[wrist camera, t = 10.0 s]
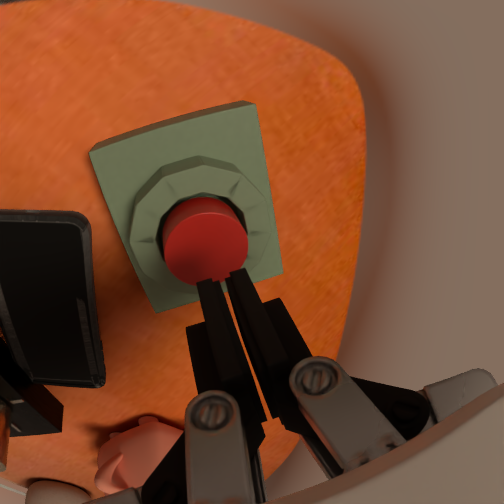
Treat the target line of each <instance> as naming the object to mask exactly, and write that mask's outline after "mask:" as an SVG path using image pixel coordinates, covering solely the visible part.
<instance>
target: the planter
mask: <svg viewBox="0 0 504 504" xmlns="http://www.w3.org/2000/svg"><path fill="white" fill-rule="evenodd" d="M91 500H92V499H91V498H90V496H89V495H88V494H87V493H85V492H84V491H83V490H81V489H79V488H77V487H75V486H72V485H69V484H65V483H60V482H55V481H37V482H35V483H33V484H32V485H31V486H30V487H29V489H28V491H27V494H26V499H25V504H82V503H84V502H88V501H91Z"/></svg>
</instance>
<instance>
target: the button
mask: <svg viewBox="0 0 504 504" xmlns="http://www.w3.org/2000/svg"><path fill="white" fill-rule="evenodd" d="M162 237H163V248H164V257H165V262H166V265H167V267H168V269H169V270H170V272H171V273H172V274H173V275H174V276H175V277H176V278H178V279H179V280H181V281H182V282H184V283H186V284H189V285H193V286H197V285H196V282H199V281H202V280H206V279H209V278H212V280H213V282H214V281H217V280H219V281H220V283H222V282H224V281H225V279H224V278H227V277H230V274H229V272H231V271H235V270H238V269H240V268H241V267H242V265H243V263H244V262H245V259H246V257H247V253H248V238H247V234H246V232H245V230H244V228H243V227H242V225H241V223H240V221H239V220H238V218H237V216H236V214H235V213H234V211H233V210H232V209H231V208H230V207H229V206H228V205H227V204H226V203H224V202H222V201H220V200H218V199H215V198H210V197H197V198H192V199H189V200H187V201H185V202H183V203H181V204H179V205H178V206H177V207H176V208H174V209H173V210H172V211H171V213H170V214H169V215H168V217H167V219H166V221H165V223H164V226H163V235H162Z"/></svg>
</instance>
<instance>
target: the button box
mask: <svg viewBox="0 0 504 504" xmlns="http://www.w3.org/2000/svg"><path fill="white" fill-rule="evenodd" d="M89 156H90V159H91V162H92V165H93V168H94V171H95V173H96V176H97V179H98V182H99V184H100V187H101V190H102V192H103V195H104V198H105V200H106V203H107V206H108V208H109V211H110V213H111V216H112V218H113V221H114V223H115V226H116V228H117V230H118V233H119V235H120V238H121V240H122V242H123V245H124V247H125V249H126V251H127V254H128V256H129V258H130V261H131V263H132V265H133V267H134V269H135V272H136V274H137V276H138V278H139V280H140V282H141V284H142V287H143V289H144V291H145V293H146V295H147V297H148V299H149V301H150V303H151V305H152V307H153V309H154V311H155V313H160V312H163V311H166V310H170V309H173V308H176V307H179V306H183V305H186V304H189V303H192V302H196V301H199V300H200V298H199V294H198V290H197V286H193V285H189V284H186V283H184V282H182V281H181V280H179V279H178V278H176V277H175V276H174V275H173V274H172V273H171V272H170V270H169V269H168V267H167V265H166V262H165V257H164V248H163V237H162V235H163V226H164V223H165V221H166V219H167V217H168V215H169V214H170V213H171V211H172V210H173V209H174V208H176V207H177V206H178V205H179V204H181V203H183V202H185V201H187V200H189V199H192V198H197V197H210V198H215V199H218V200H220V201H222V202H224V203H226V204H227V205H228V206H229V207H230V208H231V209H232V210H233V211H234V213H235V214H236V216H237V218H238V220H239V221H240V223H241V225H242V227H243V228H244V230H245V232H246V234H247V238H248V253H247V257H246V259H245V262H244V263H243V265H242V267H241V268H244V267H245V268H246V270H247V272H248V274H249V277H250V279H251V281H252V283H255V282H258V281H262V280H265V279H268V278H271V277H274V276H277V275H280V274H283V267H282V260H281V253H280V247H279V240H278V234H277V227H276V221H275V215H274V208H273V202H272V196H271V190H270V184H269V178H268V172H267V166H266V160H265V154H264V148H263V142H262V137H261V131H260V125H259V120H258V114H257V108H256V104H254V103H251V102H247V101H238V102H233V103H229V104H224V105H220V106H216V107H212V108H207V109H203V110H200V111H196V112H192V113H188V114H184V115H181V116H177V117H174V118H170V119H167V120H163V121H160V122H157V123H154V124H150V125H147V126H144V127H141V128H138V129H135V130H132V131H129V132H126V133H123V134H120V135H117V136H115V137H112V138H109V139H106V140H104V141H101V142H98V143H96V145H95V146H94V147H93V148H92V149H91V151H90V152H89ZM241 268H240V269H241ZM220 284H221V287H222V290H223V293H224V292H227V291H228V290H227V286H226V283H225V281H224V282H222V283H220Z"/></svg>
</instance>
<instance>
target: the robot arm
mask: <svg viewBox="0 0 504 504" xmlns="http://www.w3.org/2000/svg"><path fill="white" fill-rule="evenodd" d="M229 274H230V277H227V278H224V279H225V283H226V286H227V290H228V293H229V297H230V300H231V303H232V307H233V310H234V313H235V317H236V320H237V323H238V327H239V330H240V333H241V336H242V339H243V342H244V345H245V347H246V350H247V353H248V356H249V358H250V361H251V364H252V366H253V369H254V372H255V374H256V377H257V380H258V382H259V385H260V388H261V390H262V393H263V395H264V398H265V401H266V403H267V406H268V408H269V411H270V414H271V416H272V418H273V419H274V418H277V417H279V419H280V421H281V423H282V425H283V424H284V426H285V429H286V430H289V431H292V432H295V433H298V434H299V437H300V438H301V440H302V441H303V443H304V444H305V446H306V447H307V449H308V450H309V452H310V453H311V454H312V456H313V458H314V459H315V460H316V462H317V463H318V465H319V466H320V468H321V469H322V470H323V472H324V473H325V475H326V476H327V478H328V479H329V480H328V481H325V482H323V483H320V484H318V485H315V486H313V487H310V488H307V489H304V490H302V491H299V492H296V493H293V494H290V495H287V496H284V497H282V498H278V499H275V500H271V501H268V499H267V493H266V487H265V482H264V476H263V470H262V464H261V458H260V452H259V446H260V445H261V443H262V441H263V440H264V438H265V433H264V430H263V427H262V424H261V423H262V422H265V421H267V418H266V415H265V412H264V409H263V406H262V403H261V400H260V397H259V394H258V391H257V388H256V385H255V382H254V379H253V376H252V373H251V370H250V367H249V364H248V361H247V359H246V356H245V353H244V350H243V347H242V345H241V342H240V339H239V336H238V333H237V330H236V328H235V325H234V322H233V319H232V316H231V313H230V310H229V307H228V304H227V302H226V299H225V296H224V293H223V290H222V287H221V284H220V281H219V280H217V281H214V282H213V280H212V278H209V279H206V280H202V281H199V282H196V285H197V290H198V294H199V298H200V303H201V307H202V311H203V315H204V319H205V322H201V323H198V324H195V325H191V326H188V327H186V335H187V340H188V346H189V351H190V356H191V362H192V367H193V372H194V377H195V382H196V386H197V391H198V395H197V396H196V397H194V398H193V399H192V400H191V401H190V402H189V404H188V406H187V408H186V411H185V430H184V432H183V433H182V434H181V436H180V437H179V438H178V440H177V441H176V442H175V444H174V445H173V446H172V448H171V449H170V450H169V452H168V453H167V454H166V455H165V457H164V458H163V459H162V461H161V462H160V463H159V465H158V466H157V467H156V468H155V470H154V471H153V472H152V474H151V475H150V476H149V477H148V479H147V480H146V481H145V483H144V485H142V486H140V487H137V488H134V487H130V488H127V489H124V490H122V491H119V492H116V493H113V494H110V495H107V496H104V497H101V498H97V499H94V500H91V501H88V502H84V503H82V504H504V383H503V384H500V385H497V383H496V381H495V379H494V378H493V376H492V375H491V373H489V372H488V371H486V370H484V369H479V368H477V369H472V370H470V371H467V372H464V373H461V374H459V375H456V376H453V377H451V378H448V379H445V380H442V381H439V382H436V383H433V384H430V385H427V386H424V388H423V389H422V390H419V391H413V390H409V389H404V388H399V387H394V386H390V385H385V384H381V383H376V382H372V381H367V380H363V379H358V378H355V377H351V376H349V375H348V374H347V373H346V372H345V371H344V370H343V368H342V367H341V366H340V365H339V364H338V363H337V362H335V361H334V360H332V359H330V358H328V357H323V356H314V357H313V356H312V354H311V352H310V351H309V349H308V347H307V345H306V343H305V342H304V340H303V338H302V336H301V334H300V333H299V331H298V329H297V327H296V325H295V324H294V322H293V320H292V318H291V316H290V315H289V313H288V311H287V309H286V307H285V306H284V304H283V302H282V300H281V299H280V298H276V299H273V300H270V301H267V302H264V303H262V302H261V300H260V298H259V295H258V293H257V291H256V289H255V287H254V285H253V283H252V281H251V279H250V277H249V274H248V272H247V270H246V268H245V267H244V268H241V269H238V270H235V271H231V272H229Z"/></svg>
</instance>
